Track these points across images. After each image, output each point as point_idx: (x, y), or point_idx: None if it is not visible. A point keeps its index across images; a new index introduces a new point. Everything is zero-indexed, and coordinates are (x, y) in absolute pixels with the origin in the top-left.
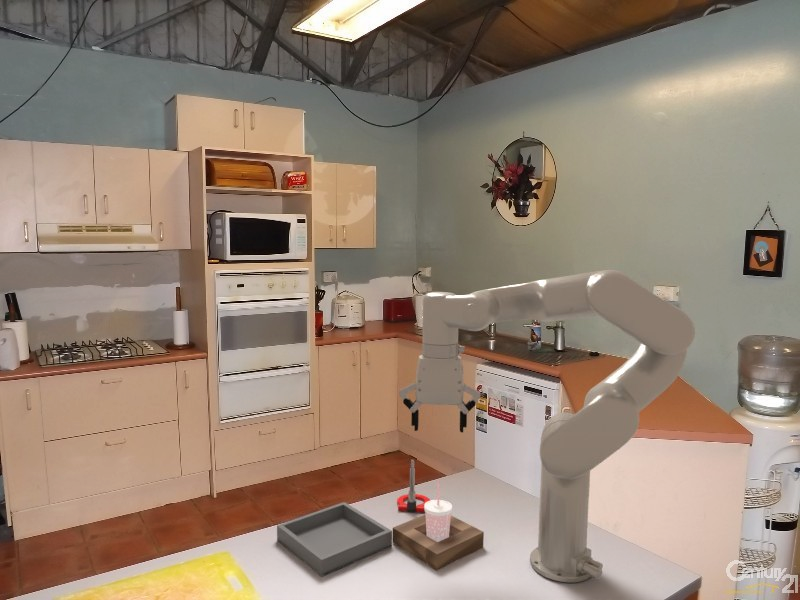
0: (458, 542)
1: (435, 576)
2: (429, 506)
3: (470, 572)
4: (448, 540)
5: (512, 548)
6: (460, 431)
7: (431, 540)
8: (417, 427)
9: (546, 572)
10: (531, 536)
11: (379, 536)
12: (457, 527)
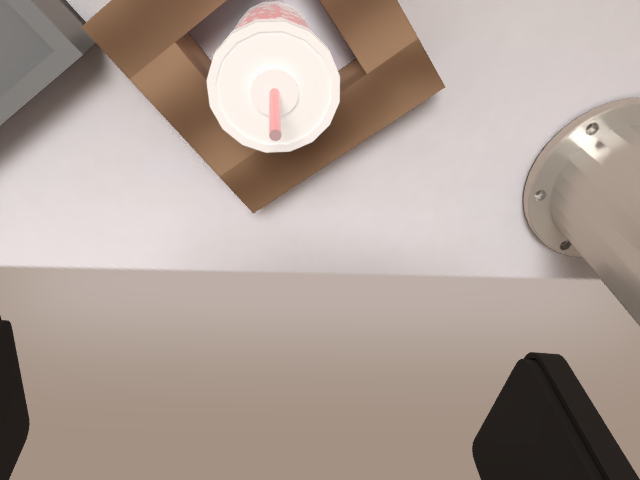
0: (334, 152)
1: (248, 210)
2: (232, 89)
3: (348, 197)
4: None
5: (522, 81)
6: (476, 453)
7: None
8: (11, 464)
9: (539, 236)
10: (632, 2)
11: (38, 92)
12: (355, 45)
